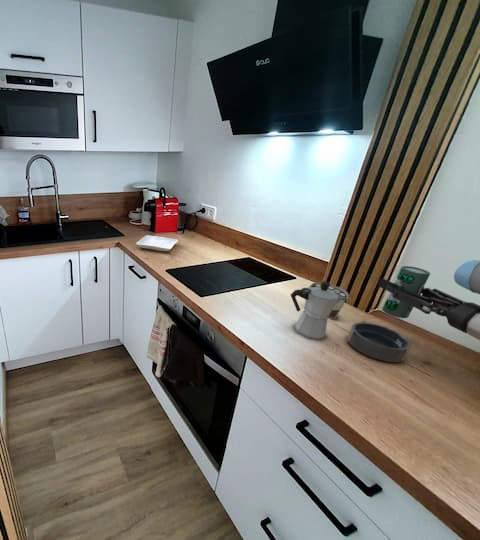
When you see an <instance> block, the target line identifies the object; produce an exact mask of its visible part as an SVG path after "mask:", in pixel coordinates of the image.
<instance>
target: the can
mask: <svg viewBox="0 0 480 540" xmlns="http://www.w3.org/2000/svg"><path fill="white" fill-rule="evenodd" d="M430 276H431V272H430V271H428V270H425V269H423V268H420V267H416V266H411V265H401V267H400V269H399V271H398V273H397V275H396V278H395V280H394V282H393V283H394V284H396V285H399V286H403V289H404V290H407V291H410V292H413V293H416V294H419V295H420V293H421V291H422V289H423V287H424V288H425V285H426V283H427V281H428V279H429V277H430ZM421 294H422V293H421ZM381 308H382V312H384V313H385V314H387V315H389V316H391V317H395V318H399V319H408V318H409V317H410V315H411V313H412V311H413V309H414V307H412V306H410V305H408V304H406V303H404V302H402V301H400V300H397V299H395V298H393V293H391V292H388V295H387V297H386V299H385V301H384V304H383V306H382V307H381Z"/></svg>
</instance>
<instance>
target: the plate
mask: <svg viewBox="0 0 480 540" xmlns="http://www.w3.org/2000/svg"><path fill="white" fill-rule="evenodd" d="M179 241H180V240H179V239H176V238H171V237H166V236H165V237H164V236H157V235H149V234H147V235H145V236H144V237H142V238H141V239H140V240H138V241H137V242H135V245H136V246H137V247H140V248H143V249H145V250H146V249H147V250H151V251H158V252H170V251H172V249H173V247H174V246H175V245H176V244H177V243H178V242H179Z"/></svg>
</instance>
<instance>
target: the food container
mask: <svg viewBox="0 0 480 540" xmlns="http://www.w3.org/2000/svg"><path fill="white" fill-rule="evenodd" d="M321 285H322V282H313V283H311V284H310V285H309V287H319V288H321ZM327 290H331V291H332V292H334V293H336V294H338V295H340V296H342V297H345V298H344V299H342V300H341V301H339V302H338V303H337V304H336V305H335V306H334V308H333V310H332V311H331V313H330V315H329V316H327V318H328V319H332V320H334V321H335V320H336V319H337V317H338V315H339V313H340V312H341V311H342V308H343V306H344V304H345V303H347V302H349V297H350V296H349V292H348V291H346V290H345V289H343V288H341V287H339V286H336V285H334V284H330V286H329V288H328V289H327Z"/></svg>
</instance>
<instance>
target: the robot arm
mask: <svg viewBox="0 0 480 540" xmlns="http://www.w3.org/2000/svg"><path fill="white" fill-rule="evenodd" d="M453 280H454V282H455V284H457V286H460V287H461V288H464V289H466V290H468V291H470V292H471V293H473V294H477V295H480V260H479V259H473V260H470V261H468V260H467V261H466V262H464V263H461V265H459V266H458V267H457V268H456V270H455V271H454V273H453ZM377 287H379V288H380V289H383V290H385V291H387V292H388V293H390V292H391V293H393V298H395V299H397V300H400V301H402V302H404V303H406V304H408V305H410V306H412V307H413V308H414V309H417V310H419V311H420V312H422V313H424V314H425V315H431V313H434V314H436V315H438V316H441V317H445V318H446V321H447V324H448V325H449V326H450V327H452V328H453V329H456V330H458V331H459V332H462V333H464V334H468V335H469V336H471V337H472V338H475V339H476V340H477V341H478V340H479V341H480V304H477V303H474V302H469V301H468V302H467V301H465V300H462V299H460V298H458V297H455V296H453V295H451V294H448V293H447V292H444V291H442V290H440V289H437V288H433V289H432V288H430V287H425V286H424V287H423V289H422V291H421V293H420V295H419V294H416V293H413V292H410V291H407V290H404V289H403V286H399V285H396V284H394V282H392V281H389V280H388V279H385V278H380V280H379V282H378V285H377Z"/></svg>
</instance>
